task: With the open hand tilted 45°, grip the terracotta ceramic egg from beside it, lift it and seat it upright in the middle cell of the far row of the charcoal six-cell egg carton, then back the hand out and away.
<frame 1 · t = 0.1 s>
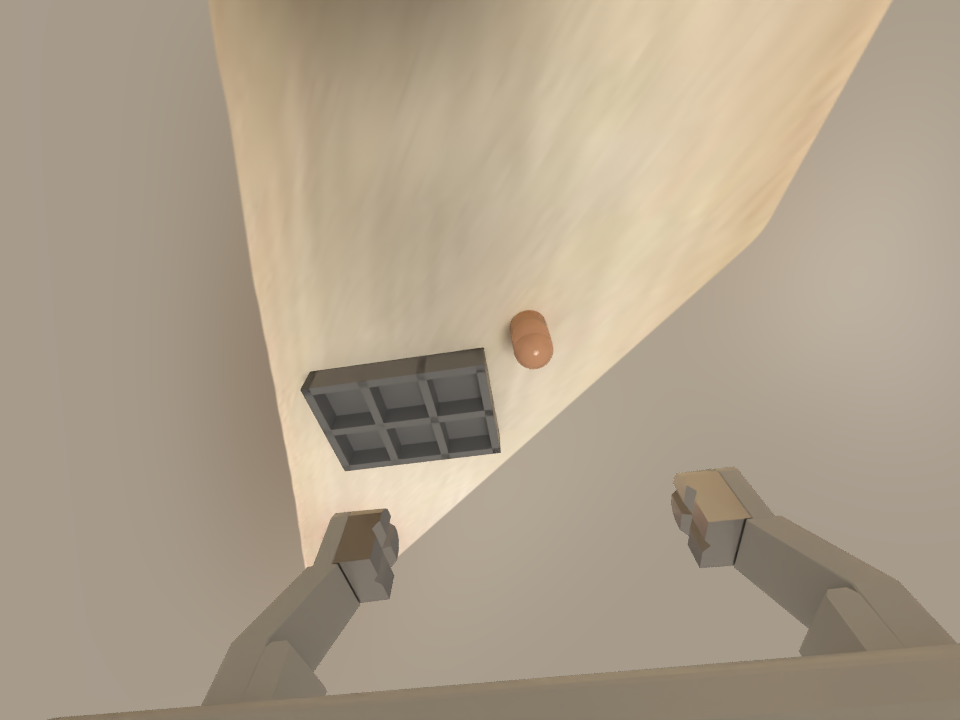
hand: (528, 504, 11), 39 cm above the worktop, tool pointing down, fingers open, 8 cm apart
terracotta egg: (528, 326, 53), on the worktop
egg carton: (410, 404, 61), on the worktop
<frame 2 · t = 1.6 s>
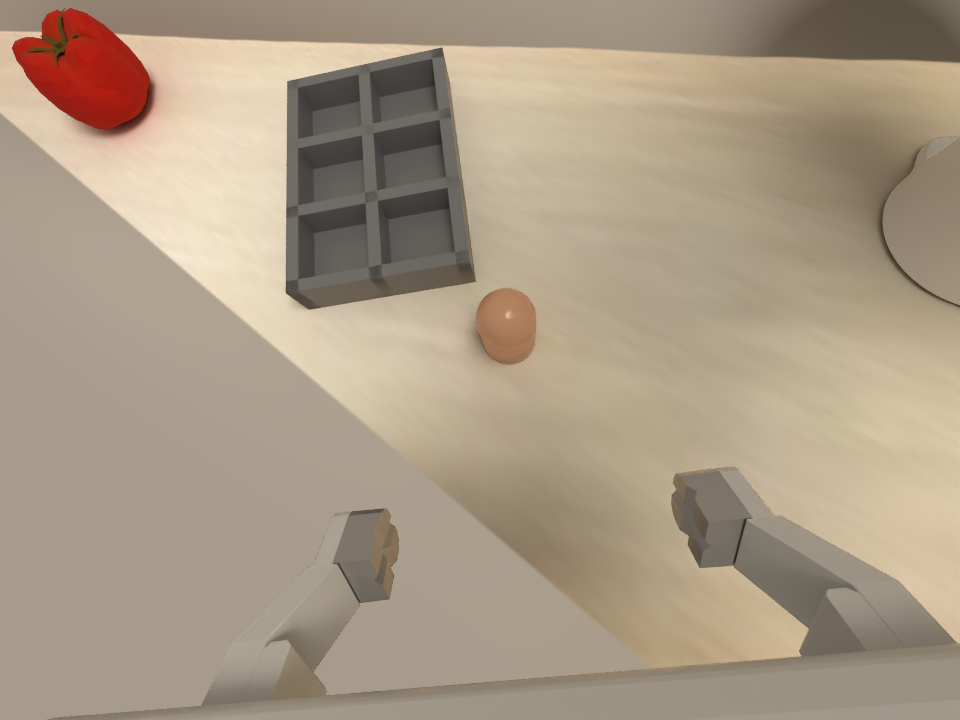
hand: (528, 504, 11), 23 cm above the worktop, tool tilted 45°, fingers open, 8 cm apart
tomato: (128, 106, 51), on the worktop
terracotta egg: (509, 339, 37), on the worktop
egg carton: (383, 189, 43), on the worktop
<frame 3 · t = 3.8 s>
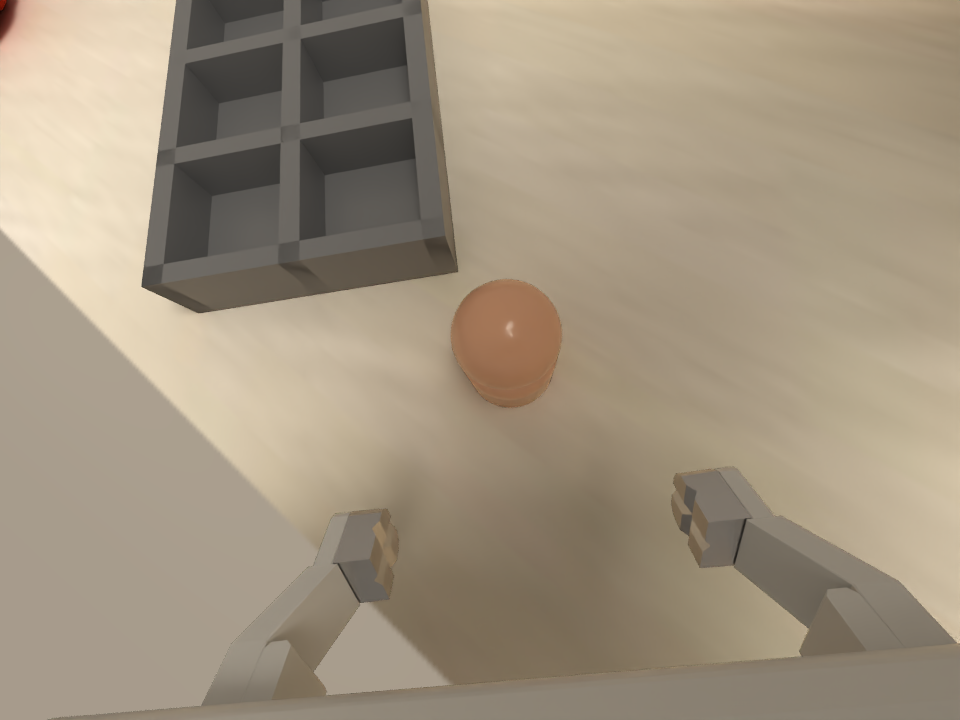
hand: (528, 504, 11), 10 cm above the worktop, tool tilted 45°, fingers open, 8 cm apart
terracotta egg: (510, 365, 23), on the worktop
egg carton: (322, 133, 28), on the worktop
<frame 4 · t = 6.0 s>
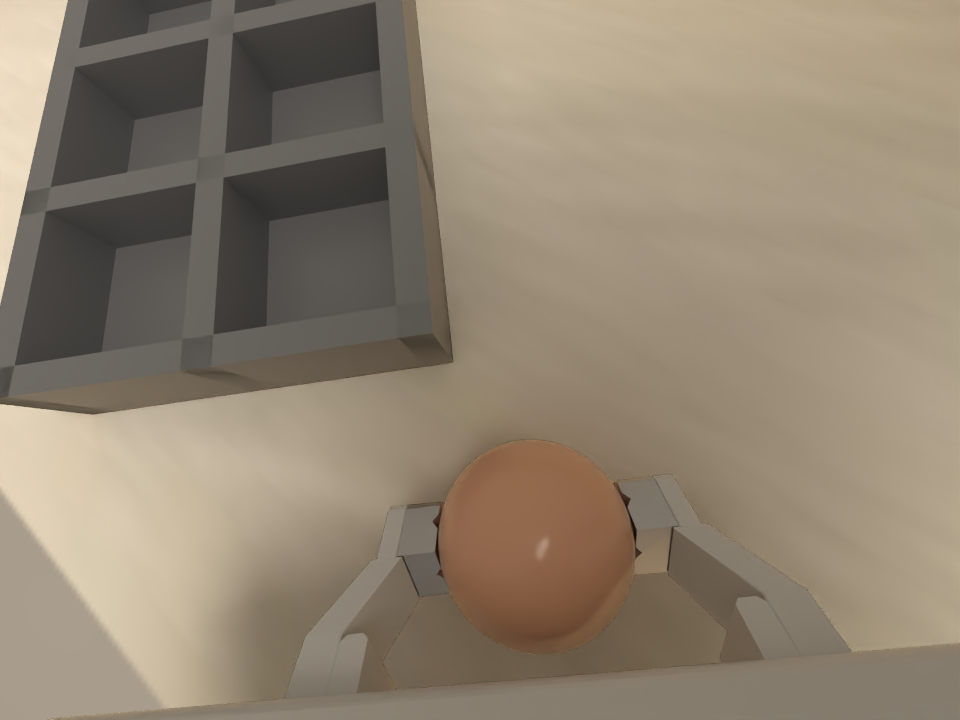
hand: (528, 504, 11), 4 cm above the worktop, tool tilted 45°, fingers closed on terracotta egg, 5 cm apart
terracotta egg: (530, 510, 15), on the worktop, touching gripper
egg carton: (272, 160, 21), on the worktop
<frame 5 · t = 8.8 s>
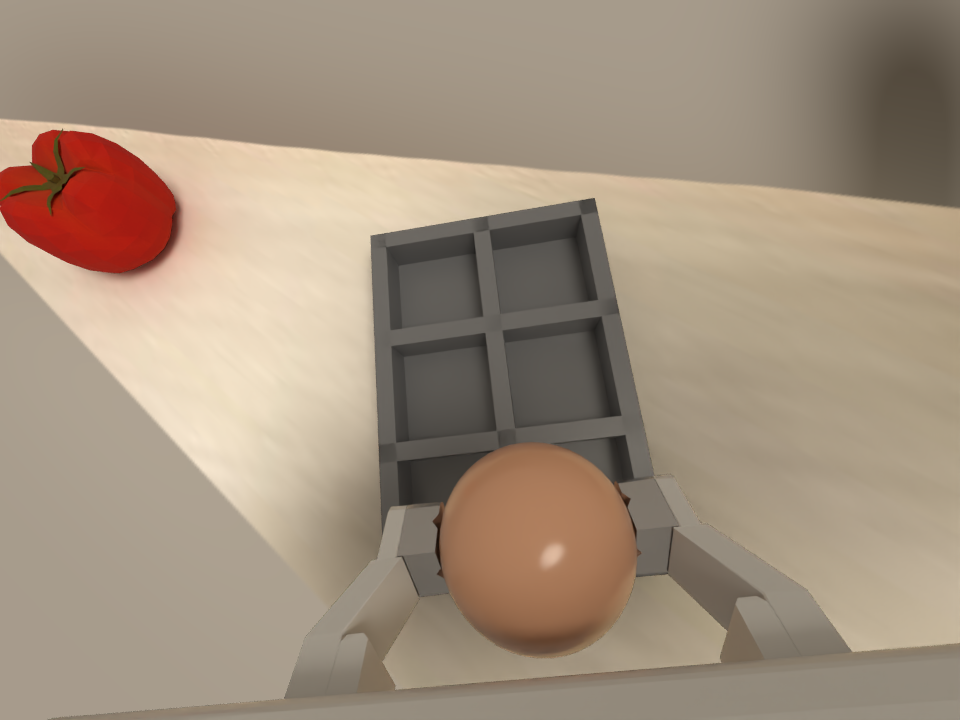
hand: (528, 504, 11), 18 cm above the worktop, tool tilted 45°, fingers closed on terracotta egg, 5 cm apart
tomato: (146, 234, 39), on the worktop
terracotta egg: (531, 512, 15), point 14 cm above the worktop, touching gripper
egg carton: (503, 389, 30), on the worktop
when the fingers open (7 cm above the worktop, at t = 11.9 s): terracotta egg drops 1 cm, resting on egg carton.
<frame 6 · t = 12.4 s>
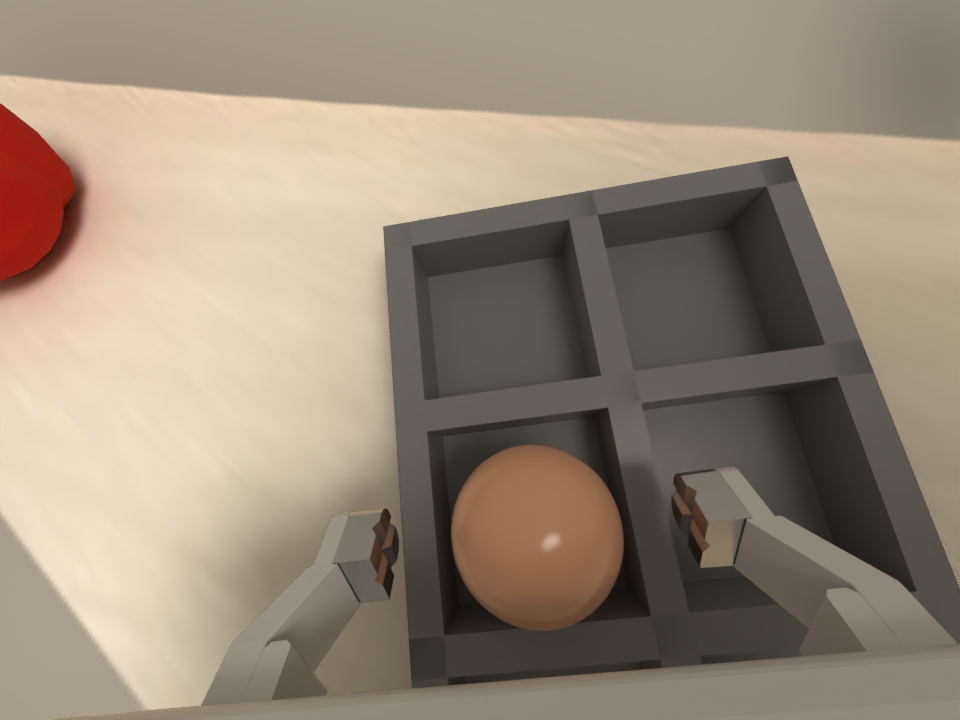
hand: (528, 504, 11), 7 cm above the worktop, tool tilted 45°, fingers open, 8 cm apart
tomato: (32, 228, 25), on the worktop
terracotta egg: (531, 508, 17), point 1 cm above the worktop, touching egg carton
egg carton: (619, 494, 17), on the worktop
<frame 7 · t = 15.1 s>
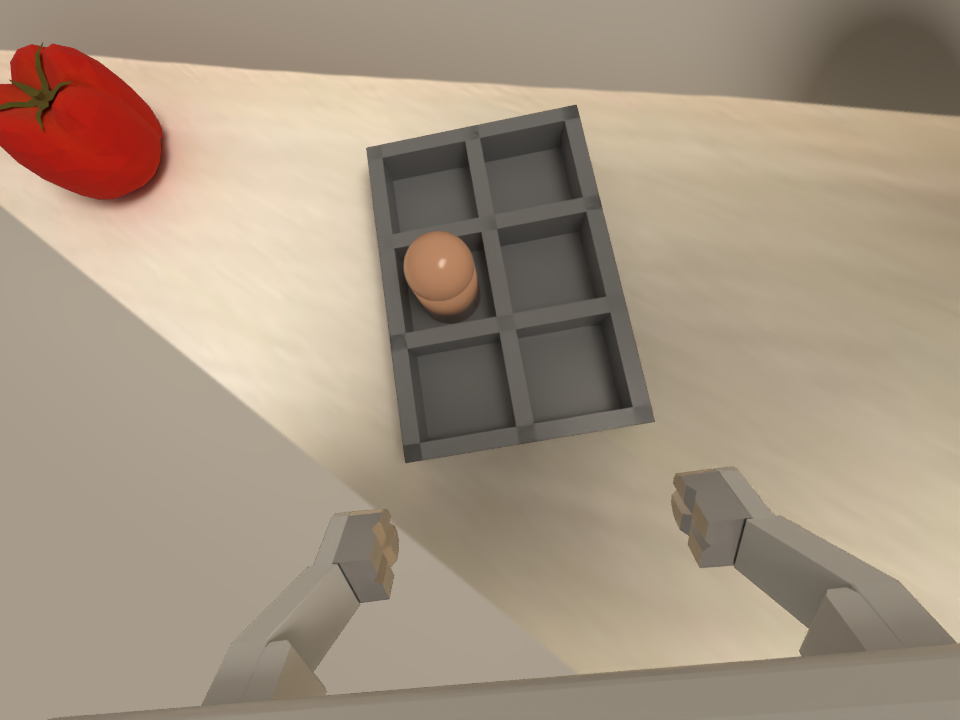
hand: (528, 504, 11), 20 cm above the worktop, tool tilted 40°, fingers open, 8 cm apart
tomato: (133, 162, 39), on the worktop
terracotta egg: (451, 295, 32), point 1 cm above the worktop, touching egg carton
egg carton: (498, 290, 33), on the worktop
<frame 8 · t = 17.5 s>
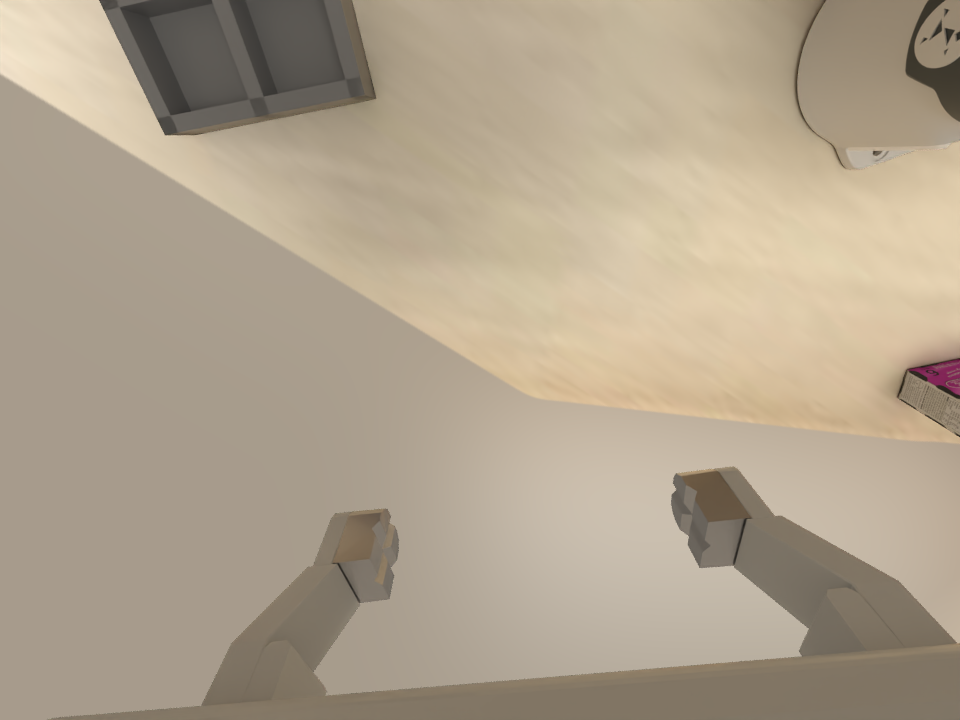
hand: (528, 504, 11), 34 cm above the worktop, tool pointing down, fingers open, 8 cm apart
candy bar box: (946, 372, 50), on the worktop
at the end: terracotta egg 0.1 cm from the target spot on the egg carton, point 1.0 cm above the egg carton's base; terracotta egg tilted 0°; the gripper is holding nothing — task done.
